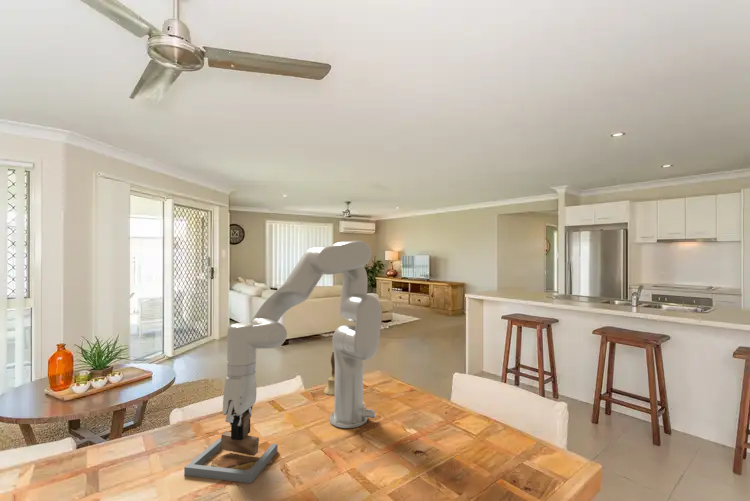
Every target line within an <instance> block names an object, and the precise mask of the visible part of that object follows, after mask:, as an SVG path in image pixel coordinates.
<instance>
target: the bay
mask: <svg viewBox="0 0 750 501" xmlns="http://www.w3.org/2000/svg"><path fill="white" fill-rule="evenodd" d="M220 447H221V438H218V439H216V440H215V441H214V442H213V443H212V444H210V445H209V446H208V447H207V448H206V449H205V450H203V451H202V452H201V453H200V454H198V455H197V456H196V457H195V458H194V459H192V460H191V461H190V462H189V463H188V464H186V465H185V466H184V467H183V468H184V472H183V473H184V474H183V475H184V476H188V477H196V478H204V479H212V480H220V481H230V482H237V483H245V484H252V483H253V482H254V481H255V479H257V477H258V476H259V474H261V472H262V471H263V470H264V468H266V466H267V465H268V464H269V462H271V460H272V459H273V458H274V456H276V455H277V453H278V447H279V446H278V443H272V444H271V445H270V446H269V447H268V448H267V450H265V451H264V453H263V454H262V455H261V456H260V457H259V458H258V459H259V460H258V461H257V462H256V463H255V464H254V465H253V466H251V467H250V469H249V470H247V469H246V470H244V469H230V468H221V467H212V466H211V465H204V464H205V463H206V462H207V461H209V459H210V458H212V457H213V456H214V455H215V454H216V453H217V452H218V451H220V450H221V449H220Z"/></svg>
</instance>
